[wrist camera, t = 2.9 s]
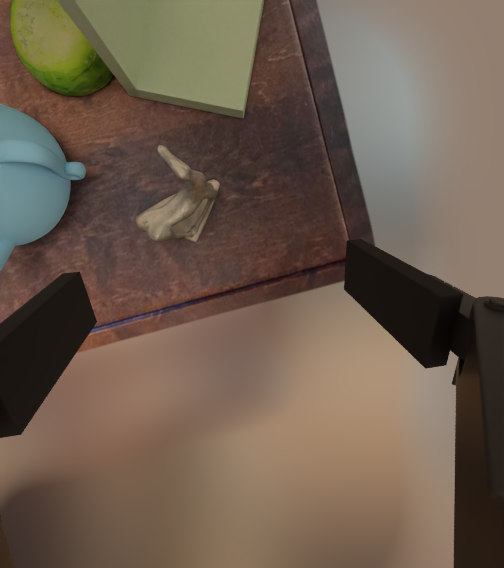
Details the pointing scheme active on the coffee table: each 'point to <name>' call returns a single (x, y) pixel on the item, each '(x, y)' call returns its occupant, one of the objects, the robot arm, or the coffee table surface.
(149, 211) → the figurine
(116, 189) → the coffee table surface
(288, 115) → the coffee table surface
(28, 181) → the teapot
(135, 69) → the rack
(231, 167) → the coffee table surface
